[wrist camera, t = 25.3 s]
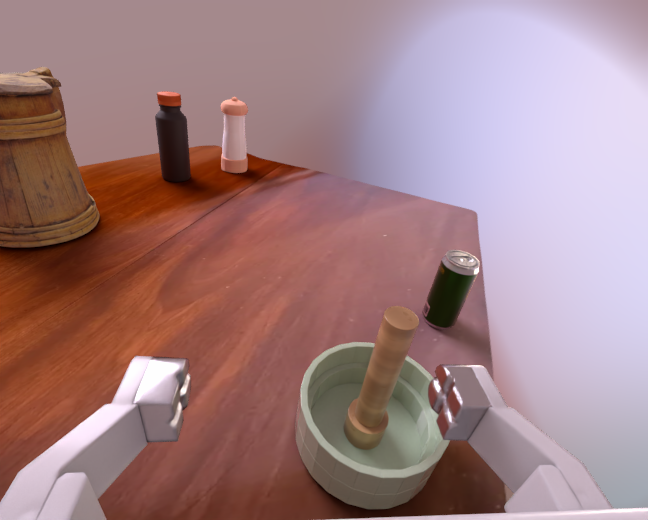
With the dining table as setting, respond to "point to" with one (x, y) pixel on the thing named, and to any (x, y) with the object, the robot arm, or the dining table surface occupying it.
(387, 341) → the wooden pestle
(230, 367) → the dining table surface
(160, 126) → the bottle
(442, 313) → the beer can
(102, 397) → the dining table surface
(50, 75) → the tankard
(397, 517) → the robot arm
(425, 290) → the dining table surface
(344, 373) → the bowl
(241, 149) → the pepper shaker
